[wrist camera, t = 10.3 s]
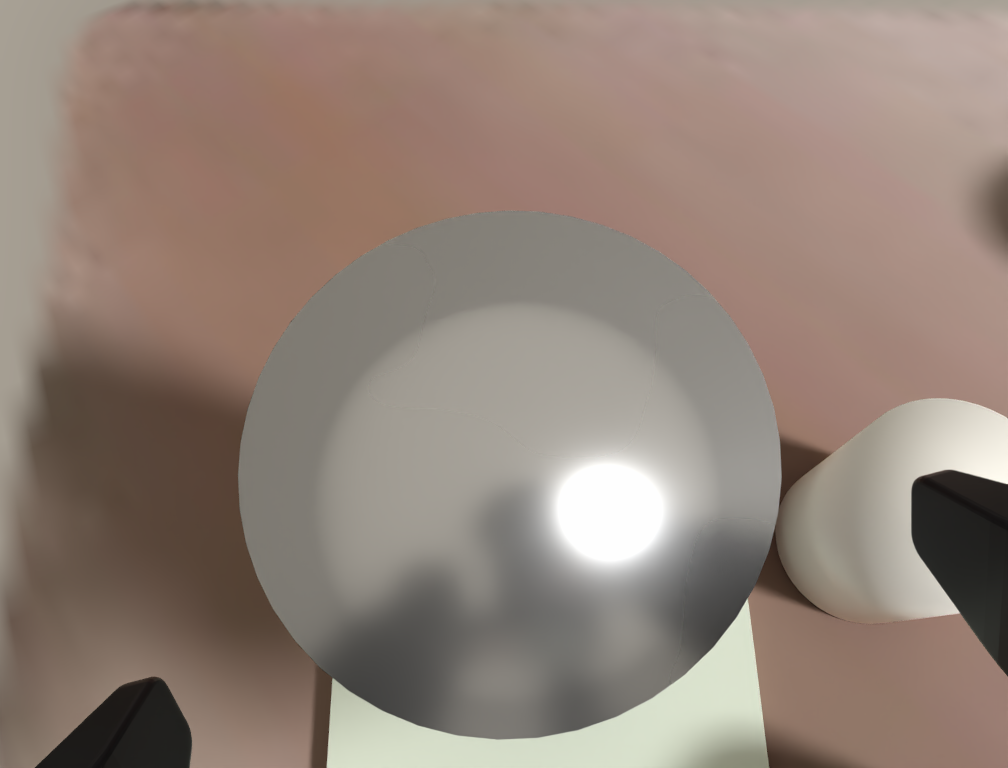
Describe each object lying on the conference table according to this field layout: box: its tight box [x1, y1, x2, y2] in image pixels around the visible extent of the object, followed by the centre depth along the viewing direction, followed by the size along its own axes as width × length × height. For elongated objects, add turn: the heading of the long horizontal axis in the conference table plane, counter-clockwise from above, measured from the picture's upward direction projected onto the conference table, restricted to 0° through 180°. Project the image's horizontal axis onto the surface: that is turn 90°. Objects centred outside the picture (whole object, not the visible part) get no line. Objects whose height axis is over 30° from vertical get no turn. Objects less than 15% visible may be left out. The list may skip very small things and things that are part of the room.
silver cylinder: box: [238, 211, 782, 740], centre depth 12 cm, size 6×6×13 cm
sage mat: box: [327, 598, 769, 768], centre depth 18 cm, size 10×10×1 cm
